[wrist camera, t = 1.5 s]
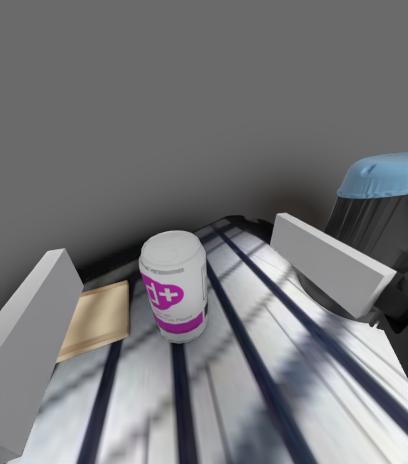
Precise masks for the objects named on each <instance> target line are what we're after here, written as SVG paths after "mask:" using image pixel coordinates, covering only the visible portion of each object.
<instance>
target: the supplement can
mask: <svg viewBox="0 0 408 464" xmlns="http://www.w3.org/2000/svg"><path fill="white" fill-rule="evenodd" d="M139 268H140V271H141V274H142V278H143V281H144V284H145V287H146V291H147V294H148V297H149V300H150V304H151V307H152V310H153V313H154V317H155V320H156V323H157V326H158V329H159V331H160V333H161V335H162V336H163V337H164V338H165V339H167V340H168V341H170V342H174V343H178V344H180V343H186V342H190V341H192V340H194V339H195V338H197V337H199V335H200V334H201V333H202V332H203V331H204V330H205V327H206V325H207V322H208V298H207V274H206V251H205V250H204V248H203V246H202V245H201V243H200V241H199V239H198V238H197V237H196V236H195V235H193V234H192V233H189V232H185V231H168V232H164V233H160V234H158V235H156V236H154V237H152V238H150V239H149V240H148V241H147V242H145V244H144V246H143V247H142V253H141V256H140V258H139Z"/></svg>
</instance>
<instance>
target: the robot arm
mask: <svg viewBox="0 0 408 464" xmlns="http://www.w3.org/2000/svg"><path fill="white" fill-rule="evenodd" d="M337 195H338V197H337V200H336V202H335V205H334V207H333V210H332V212H331V215H330V217H329V220H328V222H327V225H326V228H325V230H324V233H323V232H321V231H319V230H317V229H315V228H314V227H312V226H310V225H308V224H306V223H304V222H302V221H300V220H298V219H296V218H295V217H293V216H291V215H289V214H287V213H280V214H277V215H276V220H275V224H274V229H273V234H272V239H271V243H270V246H271V247H272V248H273V249H274V250H275V251H277V252H278V253H279V254H280V255H281V256H283V257H284V258H285V259H286V260H287V261H288V262H290V263H291V264H292V265H293V266H294V267H296V268H297V269H298V270H299V280H300V283H301V285H302V286H303V288H304V289H305V291H306V292H307V293H308V294H309V295H310V296H311V297H312V298H313V299H314V300H315V301H317V302H318V303H319V304H321V305H322V306H323V307H325V308H327V309H328V310H330V311H332V312H334V313H336V314H338V315H340V316H342V317H345V318H348V319H351V320H354V321H358V322H362V323H369V325H370V327H373V326H374V325H375V324H378V325H377V327H376V328H377V329H381V330H384V332H385V334H386V336H387V338H388V340H389V342H390V344H391V346H392V348H393V350H394V352H395V354H396V356H397V358H398V360H399V362H400V364H401V366H402V368H403V370H404V372H405V374H406V376H407V378H408V152H405V153H394V154H385V155H378V156H372V157H368V158H365V159H362V160H360V161H358V162H356V163H355V164H353V165H352V166H351V167H350V168H349V170H348V171H347V174H346V176H345V178H344V180H343V183H342V185H341V187H340V188H339V189H338V191H337ZM83 287H84V286H83V284H82V282H81V280H80V278H79V276H78V274H77V272H76V270H75V268H74V266H73V263H72V262H71V259H70V257H69V255H68V253H67V252H66V249H65V248H64V249H58V250H52V251H47V253H46V254H45V255H44V256H43V258H42V259H41V260H40V261H39V263H38V264H37V265H36V267H35V268H34V269H33V270H32V272H31V273H30V274H29V276H28V277H27V278H26V279H25V281H24V282H23V283H22V284H21V286H20V287H19V288H18V289H17V291H16V292H15V293H14V295H13V296H12V297H11V298H10V300H9V301H8V302H7V303H6V305H5V306H4V307H3V309H2V310H1V311H0V464H3V463H6V462H8V461H11V460H13V459H15V458H18V457H20V456H22V454H23V451H24V448H25V446H26V443H27V440H28V437H29V435H30V432H31V429H32V426H33V424H34V421H35V418H36V416H37V413H38V410H39V407H40V405H41V402H42V399H43V396H44V394H45V391H46V388H47V385H48V383H49V380H50V377H51V374H52V372H53V369H54V366H55V364H56V361H57V358H58V355H59V353H60V350H61V347H62V344H63V342H64V339H65V336H66V333H67V331H68V328H69V325H70V322H71V320H72V317H73V314H74V312H75V309H76V306H77V303H78V301H79V298H80V295H81V292H82V290H83Z"/></svg>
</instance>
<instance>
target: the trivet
mask: <svg viewBox="0 0 408 464" xmlns="http://www.w3.org/2000/svg"><path fill="white" fill-rule="evenodd" d="M126 337H129V284H128V282H127V281H123V282H119V283H116V284H112V285H109V286H105V287H101V288H98V289H94V290H90V291H87V292H83V293H81V295H80V298H79V301H78V303H77V306H76V309H75V312H74V314H73V317H72V320H71V322H70V325H69V328H68V331H67V333H66V336H65V339H64V342H63V344H62V347H61V350H60V353H59V355H58V358H57V361H56V363H57V362H60V361H63V360H66V359H68V358H71V357H74V356H77V355H79V354H82V353H85V352H87V351H90V350H93V349H96V348H98V347H101V346H104V345H107V344H109V343H112V342H115V341H118V340H120V339H123V338H126Z"/></svg>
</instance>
